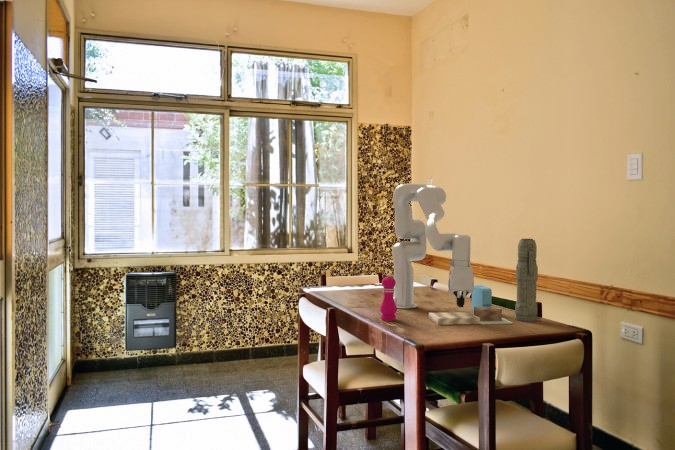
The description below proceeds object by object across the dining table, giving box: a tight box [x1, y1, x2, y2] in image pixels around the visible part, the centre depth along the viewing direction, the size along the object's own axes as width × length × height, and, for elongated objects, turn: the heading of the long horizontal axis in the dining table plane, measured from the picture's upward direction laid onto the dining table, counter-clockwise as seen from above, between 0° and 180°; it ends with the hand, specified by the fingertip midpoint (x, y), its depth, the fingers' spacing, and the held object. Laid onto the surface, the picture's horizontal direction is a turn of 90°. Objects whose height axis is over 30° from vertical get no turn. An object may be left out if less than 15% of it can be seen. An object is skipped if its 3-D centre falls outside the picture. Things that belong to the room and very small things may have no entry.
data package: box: [471, 285, 493, 312], centre depth 251 cm, size 12×4×12 cm, turn 10°
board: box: [428, 311, 481, 326], centre depth 232 cm, size 18×13×2 cm
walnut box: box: [473, 306, 503, 321], centre depth 233 cm, size 10×6×5 cm, turn 95°
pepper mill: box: [379, 272, 398, 322], centre depth 235 cm, size 7×7×20 cm
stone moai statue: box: [514, 238, 539, 323], centre depth 235 cm, size 9×12×35 cm
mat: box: [479, 317, 514, 325], centre depth 234 cm, size 14×15×1 cm
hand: (460, 306), depth 233 cm, fingers closed
